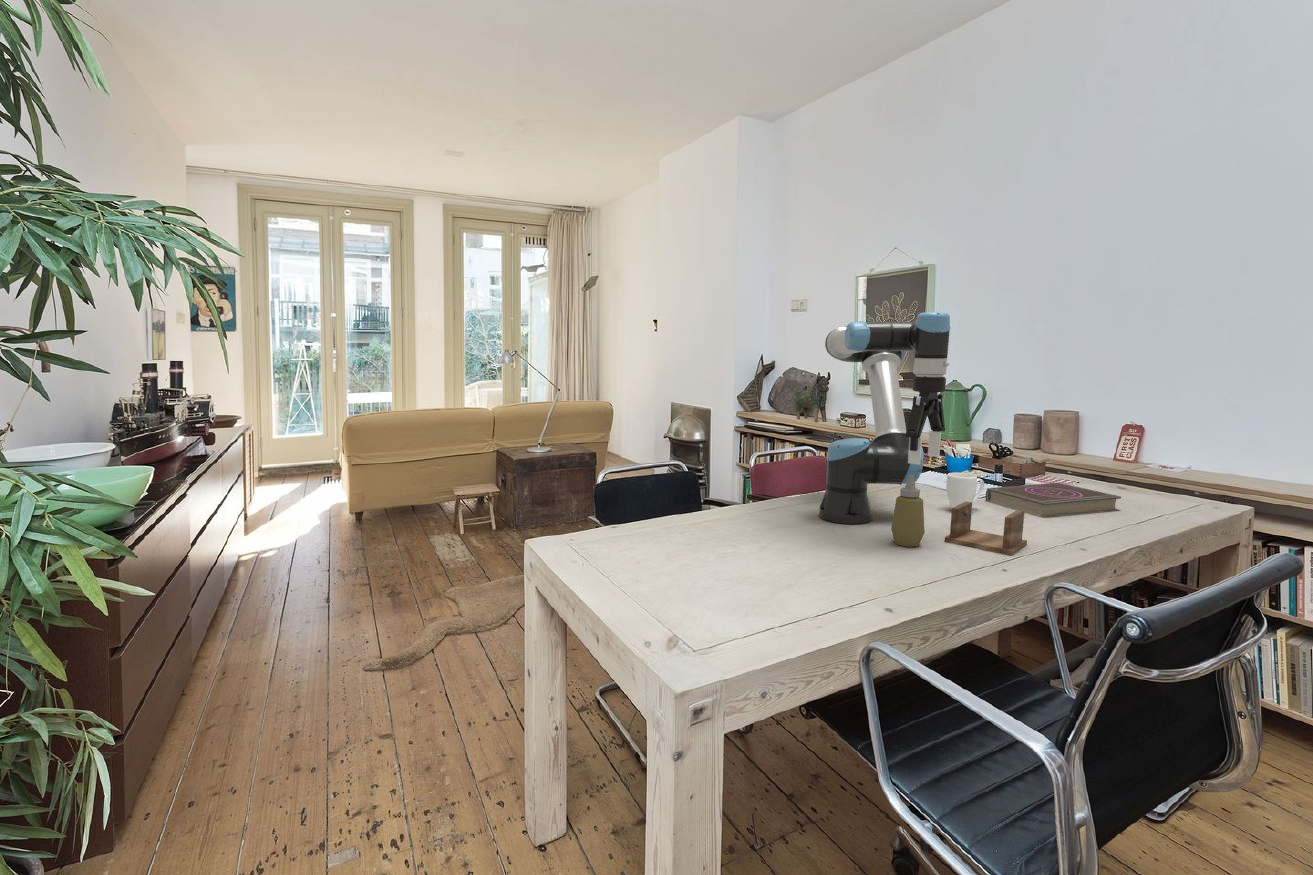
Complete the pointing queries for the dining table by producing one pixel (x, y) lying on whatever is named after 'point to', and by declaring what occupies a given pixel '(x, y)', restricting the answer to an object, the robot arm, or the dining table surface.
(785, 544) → the dining table surface
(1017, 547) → the holder
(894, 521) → the squeeze bottle
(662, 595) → the dining table surface
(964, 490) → the mug
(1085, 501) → the book
